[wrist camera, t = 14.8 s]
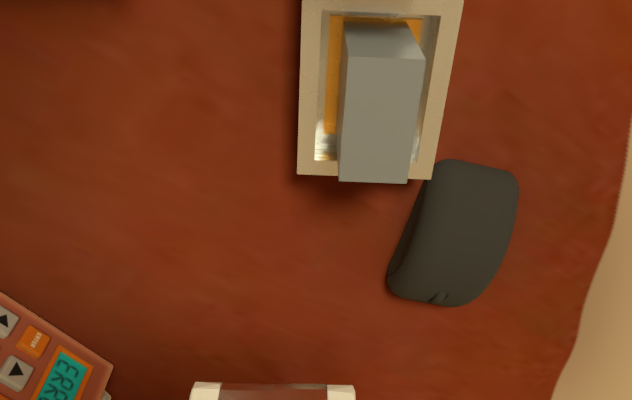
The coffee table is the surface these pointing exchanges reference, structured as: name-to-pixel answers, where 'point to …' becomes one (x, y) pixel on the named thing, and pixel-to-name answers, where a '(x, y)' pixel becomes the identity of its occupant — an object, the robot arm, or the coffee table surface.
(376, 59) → the grey block
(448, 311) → the coffee table surface
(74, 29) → the coffee table surface
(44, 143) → the coffee table surface
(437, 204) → the computer mouse
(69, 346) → the control panel
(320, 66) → the tray
